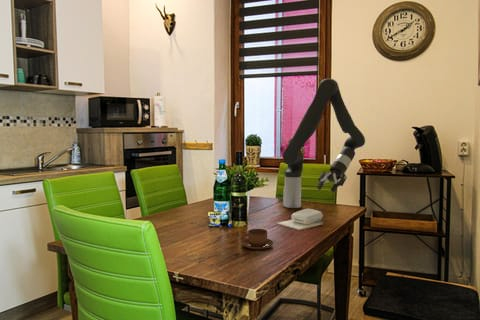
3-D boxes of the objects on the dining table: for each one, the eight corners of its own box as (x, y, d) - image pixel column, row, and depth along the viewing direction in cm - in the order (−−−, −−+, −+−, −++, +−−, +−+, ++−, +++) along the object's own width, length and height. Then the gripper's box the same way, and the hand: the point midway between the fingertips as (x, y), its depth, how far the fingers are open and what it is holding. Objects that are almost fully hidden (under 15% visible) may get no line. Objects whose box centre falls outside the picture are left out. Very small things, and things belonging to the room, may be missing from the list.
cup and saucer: (251, 253, 147) (251, 237, 146) (236, 245, 157) (236, 229, 157) (279, 249, 152) (279, 233, 152) (263, 240, 163) (263, 225, 162)
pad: (277, 223, 190) (277, 221, 190) (300, 218, 200) (300, 216, 199) (298, 230, 179) (298, 227, 179) (322, 224, 189) (322, 221, 188)
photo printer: (306, 215, 199) (289, 222, 191) (306, 207, 199) (289, 213, 191) (323, 219, 192) (306, 226, 184) (322, 211, 191) (305, 217, 183)
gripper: (326, 159, 208) (310, 183, 203) (349, 161, 197) (333, 186, 191) (332, 168, 212) (317, 192, 206) (355, 171, 201) (340, 196, 195)
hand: (325, 189), depth 199 cm, fingers open, 8 cm apart
